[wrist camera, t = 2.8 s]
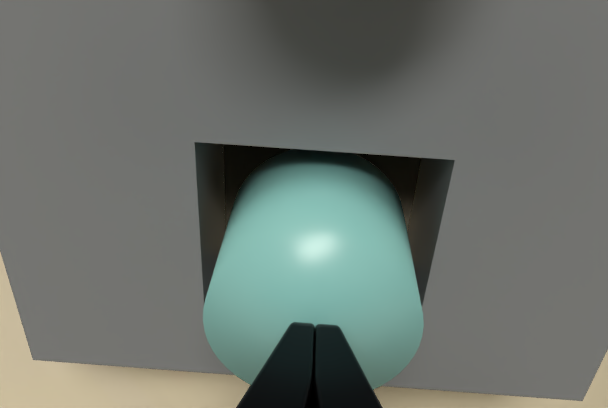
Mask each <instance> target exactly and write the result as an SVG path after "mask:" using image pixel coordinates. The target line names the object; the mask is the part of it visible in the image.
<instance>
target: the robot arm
mask: <svg viewBox="0 0 608 408" xmlns="http://www.w3.org/2000/svg"><path fill="white" fill-rule="evenodd" d="M236 408H382V406H381V404H380V402H379V400H378V399H377V397H376V395H375V393H374V391H373V389H372V387H371V385H370V383H369V381H368V379H367V378H366V376H365V374H364V372H363V370H362V368H361V366H360V364H359V362H358V360H357V358H356V357H355V355H354V353H353V351H352V349H351V347H350V345H349V343H348V341H347V339H346V338H345V336H344V334H343V332H342V330H341V328H340V327H339V326H337V325H329V324H317V325H316V327H315V326H314V324H312V323H302V322H293V323H291V324H290V325H289V327H288V328H287V330H286V331H285V333H284V334H283V336H282V337H281V339H280V341H279V342H278V344H277V345H276V347H275V348H274V350H273V351H272V353H271V355H270V356H269V358H268V359H267V361H266V362H265V364H264V365H263V367H262V369H261V370H260V372H259V373H258V375H257V376H256V378H255V379H254V381H253V383H252V384H251V386H250V387H249V389H248V390H247V392H246V393H245V395H244V397H243V398H242V400H241V401H240V403H239V404H238V406H237V407H236Z"/></svg>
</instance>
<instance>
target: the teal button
mask: <svg viewBox="0 0 608 408" xmlns="http://www.w3.org/2000/svg"><path fill="white" fill-rule="evenodd" d="M293 322H302V323H312V324H314V326H315V327H316V325H317V324H329V325H337V326H339V327H340V328H341V330H342V332H343V334H344V336H345V338H346V339H347V341H348V343H349V345H350V347H351V349H352V351H353V353H354V355H355V357H356V358H357V360H358V362H359V364H360V366H361V368H362V370H363V372H364V374H365V376H366V378H367V379H368V381H369V383H370V385H371V387H372V389H375V388H378V387H380V386H382V385H383V384H385V383H387V382H388V381H390V380H391V379H393V378H394V377H395V376H396V375H398V374H399V373H400V372H401V371H402V370H403V369H404V368H405V367H406V366H407V365H408V364H409V362H410V361H411V360H412V358H413V357H414V355H415V353H416V351H417V349H418V348H419V345H420V342H421V339H422V335H423V328H424V321H423V311H422V306H421V301H420V296H419V290H418V285H417V280H416V275H415V270H414V264H413V259H412V254H411V249H410V243H409V238H408V233H407V228H406V223H405V217H404V212H403V208H402V203H401V200H400V197H399V195H398V192H397V191H396V189H395V187H394V185H393V184H392V182H391V181H390V180H389V179H388V177H387V176H386V175H385V174H384V173H383V172H382V171H381V170H380V169H379V168H378V167H376V166H375V165H373V164H372V163H371V162H369V161H367V160H366V159H364V158H362V157H360V156H358V155H355V154H353V153H346V152H331V151H317V150H302V149H293V150H289V151H286V152H283V153H280V154H278V155H275V156H274V157H272V158H270V159H268V160H266V161H265V162H263V163H262V164H260V165H259V166H258V167H257V168H255V169H254V170H253V171H252V172H251V173H250V174H249V175H248V177H247V178H246V179H245V180H244V182H243V183H242V185H241V187H240V189H239V190H238V193H237V195H236V198H235V201H234V204H233V208H232V211H231V214H230V218H229V221H228V224H227V228H226V231H225V235H224V238H223V241H222V245H221V248H220V251H219V255H218V258H217V262H216V265H215V268H214V272H213V275H212V278H211V282H210V285H209V289H208V292H207V295H206V299H205V303H204V308H203V325H204V331H205V334H206V337H207V340H208V343H209V344H210V346H211V348H212V350H213V352H214V353H215V355H216V356H217V357H218V359H219V360H220V361H221V362H222V363H223V364H224V365H225V367H226V368H227V369H229V370H230V371H231V372H232V373H233V374H235V375H236V376H237V377H239V378H240V379H242V380H243V381H245V382H246V383H248V384H250V385H251V384H252V383H253V381H254V379H255V378H256V376H257V375H258V373H259V372H260V370H261V369H262V367H263V365H264V364H265V362H266V361H267V359H268V358H269V356H270V355H271V353H272V351H273V350H274V348H275V347H276V345H277V344H278V342H279V341H280V339H281V337H282V336H283V334H284V333H285V331H286V330H287V328H288V327H289V325H290V324H291V323H293Z"/></svg>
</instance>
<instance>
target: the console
mask: <svg viewBox="0 0 608 408" xmlns="http://www.w3.org/2000/svg"><path fill="white" fill-rule="evenodd" d="M223 144H230V145H245V146H259V147H274V148H288V149H302V150H317V151H331V152H346V153H360V154H375V155H389V156H404V157H418V158H421V162H420V168H419V173H418V178H417V184H416V189H415V194H414V200H413V205H412V211H411V216H410V221H409V227H408V232H407V233H408V238H409V243H410V249H411V254H412V259H413V264H414V270H415V275H416V280H417V285H418V290H419V296H420V301H421V306H422V311H423V321H424V328H423V335H422V339H421V342H420V345H419V348H418V349H417V351H416V353H415V355H414V357H413V358H412V360H411V361H410V362H409V364H408V365H407V366H406V367H405V368H404V369H403V370H402V371H401V372H400V373H399V374H398V375H396V376H395V377H394V378H393V379H391V380H390V381H388V382H387V383H385V384H383V385H382V386H389V387H402V388H416V389H429V390H443V391H456V392H469V393H483V394H496V395H509V396H523V397H536V398H550V399H563V400H576V401H583V399H584V397H585V395H586V393H587V391H588V389H589V387H590V384H591V382H592V380H593V378H594V376H595V374H596V372H597V370H598V368H599V366H600V364H601V362H602V360H603V358H604V356H605V354H606V352H607V350H608V0H0V252H1V255H2V258H3V262H4V265H5V268H6V272H7V275H8V278H9V282H10V285H11V288H12V292H13V295H14V298H15V302H16V305H17V308H18V312H19V315H20V318H21V322H22V325H23V328H24V331H25V335H26V338H27V341H28V345H29V348H30V351H31V355H32V358H33V360H41V361H55V362H68V363H82V364H95V365H108V366H122V367H135V368H148V369H162V370H175V371H188V372H202V373H215V374H229V375H235V374H233V373H232V372H231V371H230V370H229V369H227V368H226V367H225V365H224V364H223V363H222V362H221V361H220V360H219V359H218V357H217V356H216V355H215V353H214V352H213V350H212V348H211V346H210V344H209V343H208V340H207V337H206V334H205V331H204V325H203V308H204V303H205V299H206V295H207V292H208V289H209V285H210V282H211V278H212V275H213V272H214V268H215V265H216V262H217V258H218V255H219V251H220V248H221V245H222V241H223V238H224V235H225V231H226V221H225V185H224V149H223Z"/></svg>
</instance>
